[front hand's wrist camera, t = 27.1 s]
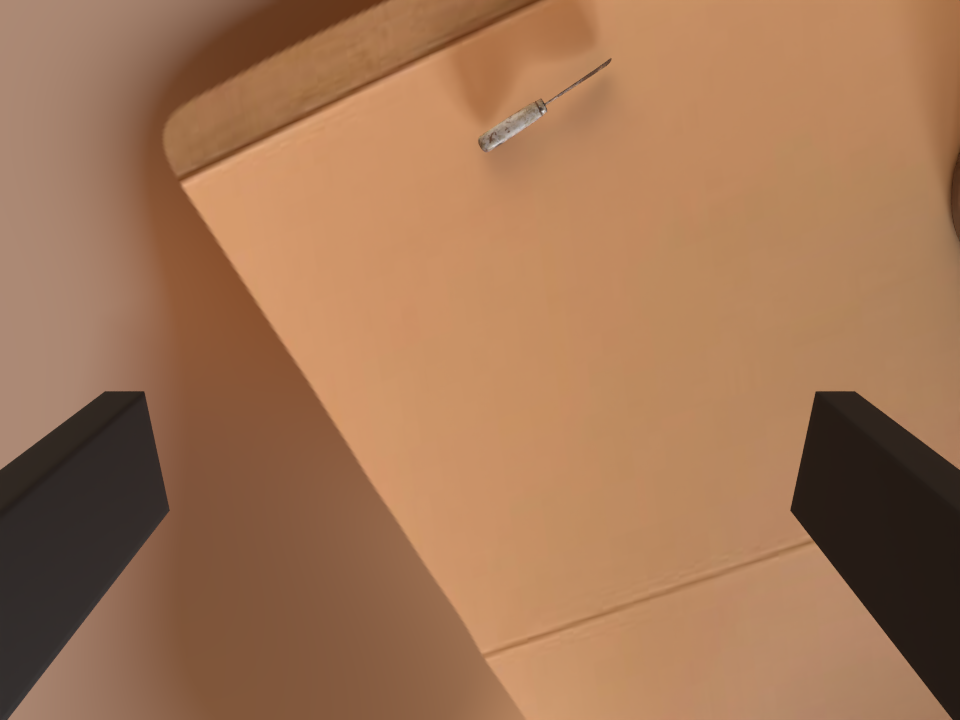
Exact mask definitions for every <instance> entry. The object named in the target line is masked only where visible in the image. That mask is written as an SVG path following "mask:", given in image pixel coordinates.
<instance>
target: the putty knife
mask: <svg viewBox="0 0 960 720" xmlns="http://www.w3.org/2000/svg"><path fill="white" fill-rule="evenodd" d="M610 61H611V59H609V60H608V61H606V62H605V63H604V64H602V65H601V66H599V67H598V68H597V69H595V70H594V71H592V72H591V73H589V74H588V75H586V76H585V77H583V78H582V79H581V80H579V81H578V82H576V83H575V84H573V85H572V86H570V87H569V88H567V89H566V90H564V91H563V92H561V93H560V94H558V95H557V96H555V97H554V98H553V99H551V100H550V101H548V102H546V103H544V102H543V101H542V99H539V100H538V101H535V102H533V103H531V104H529V105H528V106H526V107H525V108H523V109H521V110H520V111H518V112H516V113H515V114H513V115H511V116H510V117H508V118H507V119H505V120H504V121H502V122H501V123H499V124H498V125H496V126H495V127H493V128H492V129H490V130H489V131H487V132H486V133H484V134H483V135H482V136H480V137H479V139H478V142H479V145H480V147H481V149H482V150H483V151H484V152H489V151H491V150H492V149H494V148H495V147H497V146H499V145H500V144H502V143H503V142H505V141H507V140H508V139H510V138H511V137H513V136H514V135H516V134H517V133H519V132H520V131H522V130H523V129H525V128H526V127H528V126H529V125H531V124H532V123H534V122H535V121H536V120H538V119H539V118H540V117H541V116H543V114H544V113H546V112H547V108H546V106H545V105H547V104H549V103H550V102H552V101H553V100H555V99H556V98H558V97H559V96H561V95H562V94H564V93H566V92H567V91H569V90H570V89H572V88H573V87H575V86H577V85H578V84H580V83H581V82H583V81H584V80H586V79H587V78H589V77H590V76H592V75H593V74H595V73H596V72H598V71H599V70H601V69H602V68H604V67H605V66H607V65H608V64H609V63H610Z"/></svg>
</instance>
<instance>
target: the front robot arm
mask: <svg viewBox="0 0 960 720" xmlns="http://www.w3.org/2000/svg"><path fill="white" fill-rule="evenodd" d="M952 214H953V221H954V226H955V230H956V233H957V236H958V239H959V241H960V154H959V157H958V160H957V164H956V168H955V172H954V178H953V185H952ZM790 511H791V512H792V513H793V514H794V516H795V517H796V518H797V520H798V521H799V522H800V523H801V525H802V526H803V527H804V529H805V530H806V531H807V532H808V534H809V535H810V536H811V538H812V539H813V540H814V541H815V543H816V544H817V545H818V547H819V548H820V549H821V551H822V552H823V553H824V554H825V556H826V557H827V558H828V560H829V561H830V562H831V563H832V565H833V566H834V567H835V569H836V570H837V571H838V572H839V574H840V575H841V576H842V578H843V579H844V580H845V581H846V583H847V584H848V585H849V587H850V588H851V589H852V590H853V592H854V593H855V594H856V596H857V597H858V598H859V600H860V601H861V602H862V603H863V605H864V606H865V607H866V609H867V610H868V611H869V612H870V614H871V615H872V616H873V618H874V619H875V620H876V621H877V623H878V624H879V625H880V627H881V628H882V629H883V630H884V632H885V633H886V634H887V636H888V637H889V638H890V640H891V641H892V642H893V643H894V645H895V646H896V647H897V649H898V650H899V651H900V652H901V654H902V655H903V656H904V658H905V659H906V660H907V661H908V663H909V664H910V665H911V667H912V668H913V669H914V670H915V672H916V673H917V674H918V676H919V677H920V678H921V679H922V681H923V682H924V683H925V685H926V686H927V687H928V689H929V690H930V691H931V692H932V694H933V695H934V696H935V698H936V699H937V700H938V701H939V703H940V704H941V705H942V707H943V708H944V709H945V710H946V712H947V713H948V714H949V716H950V717H951V718H952V719H953V720H960V470H959V469H958V468H956V467H955V466H954V465H952V464H951V463H950V462H948V461H947V460H946V459H944V458H943V457H942V456H940V455H939V454H938V453H936V452H935V451H934V450H932V449H931V448H930V447H928V446H927V445H926V444H924V443H923V442H922V441H920V440H919V439H918V438H916V437H915V436H914V435H912V434H911V433H910V432H908V431H907V430H906V429H904V428H903V427H902V426H900V425H899V424H898V423H896V422H895V421H894V420H892V419H891V418H890V417H888V416H887V415H886V414H884V413H883V412H882V411H880V410H879V409H878V408H876V407H875V406H874V405H872V404H871V403H870V402H868V401H867V400H866V399H864V398H863V397H862V396H860V395H859V394H858V393H856V392H855V391H816V393H815V397H814V402H813V407H812V412H811V416H810V421H809V426H808V430H807V435H806V440H805V444H804V449H803V454H802V458H801V463H800V468H799V472H798V477H797V482H796V487H795V491H794V496H793V501H792V505H791V510H790ZM168 512H169V505H168V501H167V496H166V491H165V487H164V482H163V477H162V472H161V468H160V463H159V459H158V454H157V449H156V445H155V440H154V435H153V430H152V426H151V421H150V416H149V412H148V407H147V402H146V397H145V393H144V392H143V391H141V392H140V391H133V392H131V391H125V392H123V391H121V392H120V391H119V392H117V391H116V392H115V391H113V392H112V391H111V392H109V391H108V392H106V391H105V392H104V393H102V394H101V395H100V396H98V397H97V398H96V399H94V400H93V401H92V402H90V403H89V404H88V405H86V406H85V407H84V408H82V409H81V410H80V411H78V412H77V413H76V414H74V415H73V416H72V417H70V418H69V419H68V420H66V421H65V422H64V423H62V424H61V425H60V426H58V427H57V428H56V429H54V430H53V431H52V432H50V433H49V434H48V435H46V436H45V437H44V438H42V439H41V440H40V441H38V442H37V443H36V444H34V445H33V446H32V447H30V448H29V449H28V450H26V451H25V452H24V453H22V454H21V455H20V456H18V457H17V458H16V459H14V460H13V461H12V462H10V463H9V464H8V465H7V466H5V467H4V468H2V469H1V470H0V720H7V719H8V718H9V717H10V716H11V714H12V713H13V712H14V710H15V709H16V708H17V707H18V705H19V704H20V703H21V701H22V700H23V699H24V698H25V696H26V695H27V694H28V692H29V691H30V690H31V688H32V687H33V686H34V685H35V683H36V682H37V681H38V679H39V678H40V677H41V676H42V674H43V673H44V672H45V670H46V669H47V668H48V667H49V665H50V664H51V663H52V661H53V660H54V659H55V658H56V656H57V655H58V654H59V652H60V651H61V650H62V649H63V647H64V646H65V645H66V643H67V642H68V641H69V640H70V638H71V637H72V636H73V634H74V633H75V632H76V630H77V629H78V628H79V627H80V625H81V624H82V623H83V621H84V620H85V619H86V618H87V616H88V615H89V614H90V612H91V611H92V610H93V608H94V607H95V606H96V605H97V603H98V602H99V601H100V599H101V598H102V597H103V596H104V594H105V593H106V592H107V590H108V589H109V588H110V587H111V585H112V584H113V583H114V581H115V580H116V579H117V578H118V576H119V575H120V574H121V572H122V571H123V570H124V569H125V567H126V566H127V565H128V563H129V562H130V561H131V560H132V558H133V557H134V556H135V554H136V553H137V552H138V550H139V549H140V548H141V547H142V545H143V544H144V543H145V541H146V540H147V539H148V538H149V536H150V535H151V534H152V532H153V531H154V530H155V528H156V527H157V526H158V525H159V523H160V522H161V521H162V520H163V518H164V517H165V516H166V514H167V513H168Z"/></svg>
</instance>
